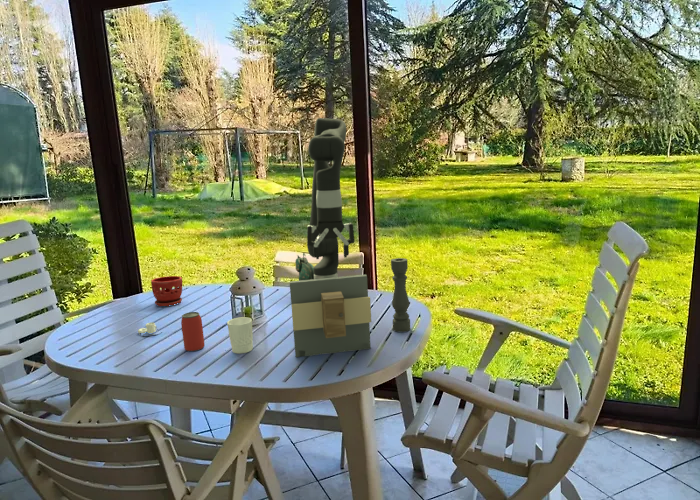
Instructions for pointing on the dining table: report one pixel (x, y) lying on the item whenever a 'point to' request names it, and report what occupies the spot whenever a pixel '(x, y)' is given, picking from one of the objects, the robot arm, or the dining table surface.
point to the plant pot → (167, 290)
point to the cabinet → (333, 314)
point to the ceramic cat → (304, 268)
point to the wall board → (311, 319)
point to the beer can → (192, 331)
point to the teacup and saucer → (148, 328)
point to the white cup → (241, 334)
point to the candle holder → (400, 295)
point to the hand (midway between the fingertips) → (331, 257)
